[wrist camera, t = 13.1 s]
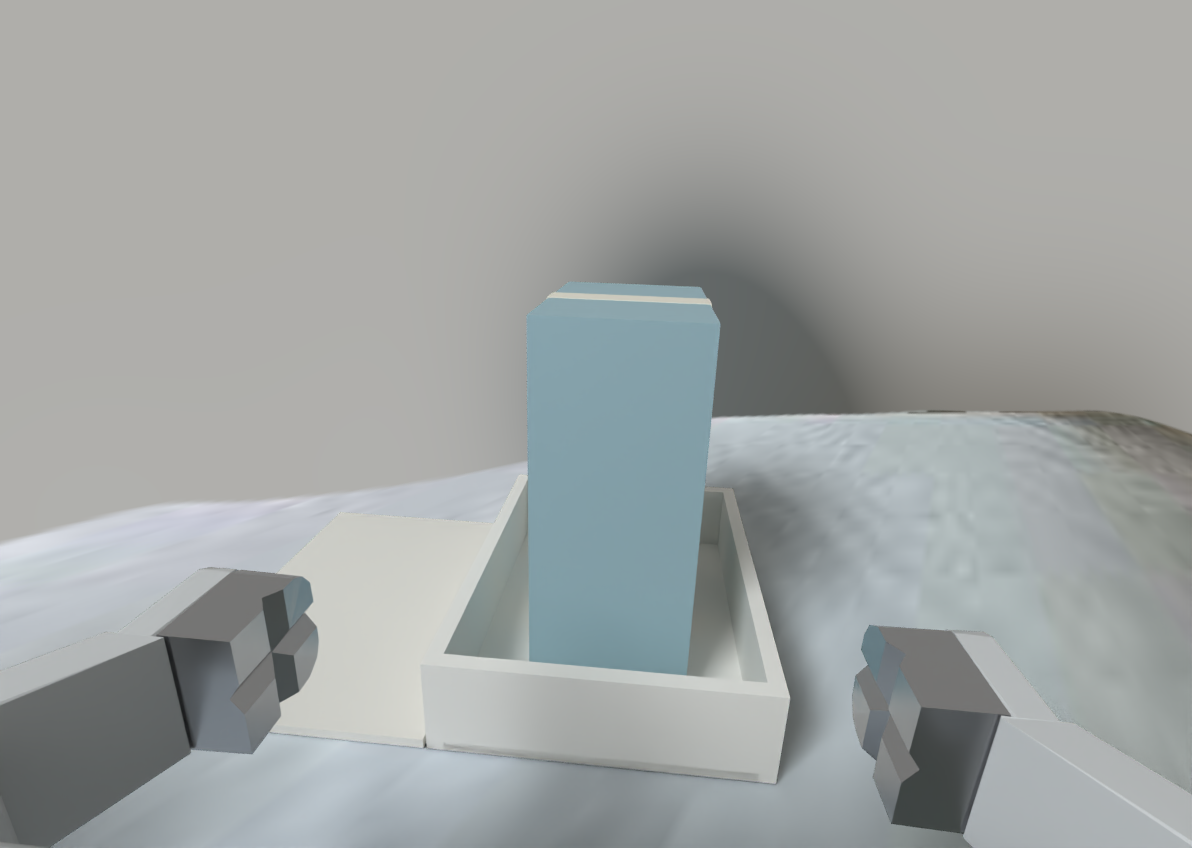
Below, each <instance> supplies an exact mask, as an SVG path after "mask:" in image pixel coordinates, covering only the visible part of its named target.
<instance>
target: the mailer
mask: <svg viewBox="0 0 1192 848" xmlns="http://www.w3.org/2000/svg"><path fill="white" fill-rule="evenodd" d="M276 574H285V575H294V576H303V577H304V578H305V579H306V580H308V581H309V582H310V585H311V590H312V596H313V601H314V602H313V603H312V604H311V606H310V607H309V609H308V610H307V612H306V614H307V616H308V617H309V618H310V619H311V620H312V621H313V623H314V624H315V625H316V626H317V630H318V638H319V644H318V655H317V659H316V662H315V665H314V667H313V670H312V673H311V675H310V677H309V679H308V680H307V682H306V683H305V684H304V686H303V687H302V689H301V690H300V691H299V692H298V693H296V694H295V695H293V696H291V697H289V698H288V699H286V700H284V701H282V702H280V709H281V717H280V718H279V720H278V721H277V722H276V724H275V725H274V726H273V728H272V729H271V730H270V732H271V733H281V734H291V735H301V736H311V737H320V738H330V739H340V740H350V741H360V742H369V743H379V744H389V745H399V746H408V747H418V748H424V745H425V743H426V746H427V748H428V749H438V750H448V751H457V752H467V753H477V754H487V755H497V756H506V757H516V758H526V759H536V760H546V761H555V762H565V763H575V764H585V765H595V766H604V767H614V768H624V769H634V770H644V771H653V772H663V773H673V774H683V775H693V776H702V777H712V778H722V779H732V780H742V781H751V782H761V783H771V784H776V781H777V775H778V769H779V763H780V757H781V751H782V745H783V739H784V733H785V727H786V721H787V715H788V709H789V703H790V695H789V692H788V688H787V684H786V681H785V677H784V673H783V670H782V666H781V662H780V659H779V655H778V651H777V648H776V644H775V640H774V637H773V633H772V629H771V626H770V622H769V618H768V615H767V611H766V607H765V604H764V600H763V597H762V593H761V589H760V586H759V582H758V578H757V575H756V571H755V567H754V564H753V560H752V556H751V553H750V549H749V545H748V542H747V538H746V534H745V531H744V527H743V523H742V520H741V516H740V512H739V509H738V505H737V501H736V498H735V494H734V491H733V488H718V487H705V490H704V500H703V511H702V521H701V531H700V542H699V552H698V563H697V573H696V583H695V594H694V604H693V615H692V625H691V635H690V646H689V656H688V667H687V676H686V675H675V674H664V673H653V672H642V671H631V670H620V669H608V668H597V667H586V666H575V665H564V664H553V663H541V662H530V661H529V556H528V475H520V474H519V476H518V478H517V480H516V482H515V483H514V485H513V487H512V489H511V491H510V493H509V495H508V497H507V499H506V501H505V503H504V505H503V506H502V508H501V510H500V512H499V514H498V516H497V518H496V520H495V522H494V523H483V522H469V521H455V520H441V519H427V518H414V517H400V516H386V515H372V514H358V513H344V512H340V513H339V514H338V515H337V516H336V517H335V518H334V519H333V520H332V521H331V522H330V523H329V524H327V525H326V526H325V527H324V528H323V529H322V530H321V531H320V532H319V533H318V534H317V535H316V536H315V537H314V538H313V539H312V540H311V541H310V542H309V543H308V544H306V545H305V546H304V547H303V548H302V549H301V550H300V551H299V552H298V553H297V554H296V555H295V556H294V557H293V558H292V559H291V560H290V561H289V562H288V563H287V564H285V565H284V566H283V567H282V568H281V569H280V570H279V571H278V572H277V573H276Z"/></svg>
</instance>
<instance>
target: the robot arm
mask: <svg viewBox="0 0 1192 848" xmlns="http://www.w3.org/2000/svg"><path fill="white" fill-rule="evenodd" d="M313 602H314V601H313V596H312V590H311V585H310V582H309V581H308V580H306V579H305V578H304V577H303V576H294V575H285V574H275V573H266V572H256V571H247V570H236V569H226V568H214V567H209V568H203V569H199V570H197V571H196V572H195V573H193V574H192V575H191V576H190V577H188V578H187V579H186V580H184V581H183V582H182V583H180V584H179V585H178V586H177V587H175V588H174V589H173V590H171V591H170V592H169V593H167V594H166V595H165V596H164V597H162V598H161V599H160V600H158V601H157V602H156V603H154V604H153V605H152V606H151V607H149V608H148V609H147V610H145V611H144V612H143V613H141V614H140V615H139V616H137V617H136V618H135V619H134V620H132V621H131V622H130V623H128V624H127V625H126V626H124V627H123V628H122V629H121V630H119V631H118V632H117V633H114V632H104V633H101V634H98V635H96V636H93V637H90V638H88V639H85V640H82V641H80V642H77V643H74V644H71V645H69V646H66V647H63V648H61V649H58V650H55V651H53V652H50V653H47V654H44V655H42V656H39V657H36V658H34V659H31V660H28V661H25V662H23V663H20V664H17V665H15V666H12V667H9V668H7V669H4V670H1V671H0V848H50V847H51V846H52V845H54V844H55V843H57V842H58V841H60V840H61V839H63V838H64V837H66V836H67V835H69V834H70V833H72V832H73V831H75V830H76V829H78V828H79V827H81V826H82V825H84V824H85V823H87V822H88V821H90V820H91V819H93V818H94V817H96V816H97V815H99V814H100V813H102V812H103V811H105V810H106V809H108V808H109V807H111V806H112V805H114V804H115V803H117V802H118V801H120V800H121V799H123V798H124V797H126V796H127V795H129V794H130V793H132V792H133V791H135V790H136V789H138V788H139V787H141V786H142V785H144V784H145V783H147V782H148V781H150V780H151V779H153V778H154V777H156V776H157V775H159V774H160V773H162V772H163V771H165V770H166V769H168V768H169V767H171V766H172V765H174V764H175V763H177V762H178V761H180V760H181V759H183V758H184V757H186V756H187V755H189V754H190V753H191V750H203V751H216V752H229V753H242V754H253V753H254V751H255V750H256V749H257V747H258V746H259V745H260V743H261V742H262V741H263V739H264V738H265V737H266V735H267V734H268V733H269V732H270V730H271V729H272V728H273V726H274V725H275V724H276V722H277V721H278V720H279V718H280V717H281V709H280V702H282V701H284V700H286V699H288V698H289V697H291V696H293V695H295V694H296V693H298V692H299V691H300V690H301V689H302V687H303V686H304V684H305V683H306V682H307V680H308V679H309V677H310V675H311V673H312V670H313V667H314V665H315V662H316V659H317V655H318V644H319V638H318V630H317V626H316V625H315V624H314V623H313V621H312V620H311V619H310V618H309V617H308V616H307V614H306V612H307V610H308V609H309V607H310V606H311V604H312V603H313ZM861 650H862V652H863V655H864V657H865V659H866V661H867V664H868V665H867V666H866V667H865V668H864V669H863V670H862V671H860V672H859V673H858V674H857V675H856V676H855V682H854V688H853V694H852V706H853V720H854V724H855V729H856V733H857V736H858V739H859V741H860V744H861V747H862V749H864V750H865V751H866V752H867V753H868V754H869V755H870V756H871V757H873V758H874V759H875V760H876V765H875V770H874V774H873V779H874V781H875V784H876V786H877V789H878V791H879V794H880V797H881V799H882V802H883V804H884V807H885V809H886V812H887V815H888V817H889V820H890V822H891V824H896V825H903V826H910V827H918V828H925V829H932V830H940V831H947V832H954V833H961V834H964V835H963V838H964V839H965V840H966V841H967V842H968V843H969V844H970V845H971V846H972V847H973V848H1192V794H1190V793H1188V792H1187V791H1185V790H1183V789H1182V788H1180V787H1179V786H1177V785H1175V784H1174V783H1172V782H1170V781H1169V780H1167V779H1165V778H1164V777H1162V776H1160V775H1159V774H1157V773H1155V772H1154V771H1152V770H1151V769H1149V768H1147V767H1146V766H1144V765H1142V764H1141V763H1139V762H1137V761H1136V760H1134V759H1132V758H1131V757H1129V756H1127V755H1126V754H1124V753H1123V752H1121V751H1119V750H1118V749H1116V748H1114V747H1113V746H1111V745H1109V744H1108V743H1106V742H1104V741H1103V740H1101V739H1099V738H1098V737H1096V736H1095V735H1093V734H1091V733H1090V732H1088V731H1086V730H1085V729H1083V728H1081V727H1080V726H1078V725H1076V724H1075V723H1070V722H1060V720H1059V719H1058V718H1057V717H1056V715H1055V714H1054V713H1053V712H1052V710H1051V709H1050V708H1049V707H1048V705H1047V704H1046V703H1045V702H1044V700H1043V699H1042V698H1041V697H1040V695H1039V694H1038V693H1037V692H1036V690H1035V689H1034V688H1033V687H1032V685H1031V684H1030V683H1029V682H1028V680H1027V679H1026V678H1025V677H1024V675H1023V674H1022V673H1021V671H1020V670H1019V669H1018V668H1017V666H1016V665H1015V664H1014V663H1013V661H1012V660H1011V659H1010V658H1009V656H1008V655H1007V654H1006V653H1005V651H1004V650H1003V649H1002V648H1001V646H1000V645H999V644H998V643H997V641H996V640H995V639H994V638H993V637H992V636H990V635H989V634H987V633H985V632H980V631H962V630H931V629H917V628H903V627H889V626H875V625H869V627H868V629H867V631H866V633H865V634H864V639H863V643H862V648H861Z"/></svg>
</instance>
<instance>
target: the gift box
mask: <svg viewBox="0 0 1192 848" xmlns="http://www.w3.org/2000/svg"><path fill="white" fill-rule="evenodd" d="M719 334H720V322H719V320H718V318H717V317H716V315H715V313H714V311H713V309H712V304H711V302H710V300H709V299H707V298H706V296H705V294H704V293H703V291H702V289H701V287H686V286H661V285H637V284H612V283H588V282H568V283H567V284H565V285H564V286H563V287H562V288H560V289H559V290H558V291H556V292H553V293H552V294H550V295H549V296H548V297H547V299H546V300H545V301H544V302H542V303H541V304H540V305H539V306H537V307H536V308H535V309H534V310H532V311H531V312H530V313H529V314H527V415H528V416H527V419H528V420H527V422H528V556H529V661H530V662H541V663H553V664H564V665H575V666H586V667H597V668H608V669H620V670H631V671H642V672H653V673H664V674H675V675H686V676H687V667H688V656H689V646H690V635H691V625H692V615H693V604H694V594H695V583H696V573H697V563H698V552H699V542H700V531H701V521H702V511H703V500H704V490H705V479H706V469H707V459H708V448H709V438H710V427H711V417H712V406H713V396H714V385H715V375H716V365H717V355H718V344H719Z"/></svg>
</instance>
